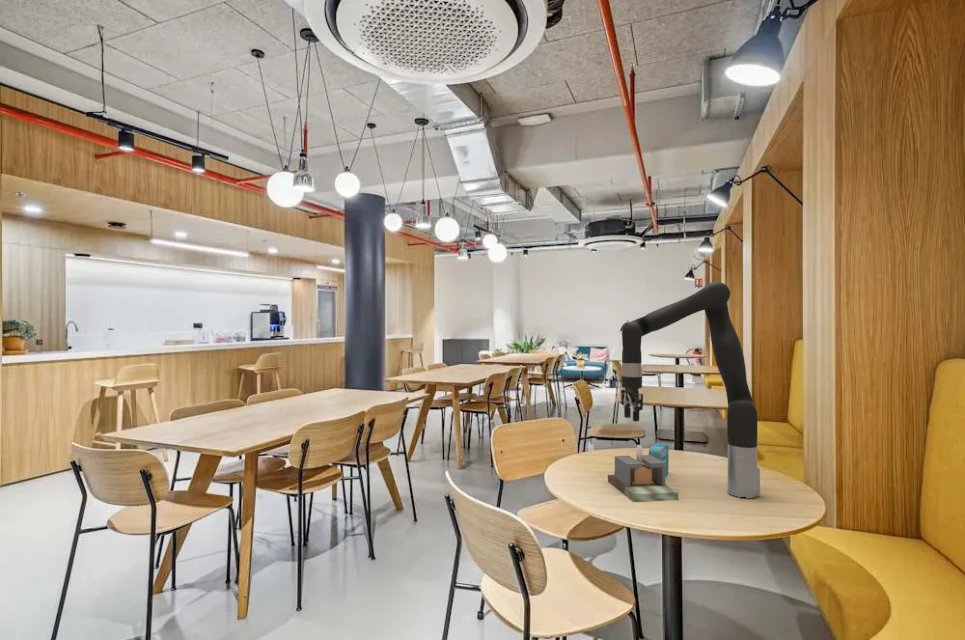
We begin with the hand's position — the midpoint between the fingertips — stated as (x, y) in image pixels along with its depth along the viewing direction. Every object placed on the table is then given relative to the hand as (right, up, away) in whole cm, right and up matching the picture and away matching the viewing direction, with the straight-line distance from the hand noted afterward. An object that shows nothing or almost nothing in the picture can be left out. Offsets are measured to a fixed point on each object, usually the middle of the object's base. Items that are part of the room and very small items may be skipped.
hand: (631, 419), depth 187 cm
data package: (+13, -24, +8) cm, 28 cm away
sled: (+1, -21, -7) cm, 22 cm away
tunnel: (+1, -21, -7) cm, 22 cm away
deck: (+1, -24, -8) cm, 25 cm away
